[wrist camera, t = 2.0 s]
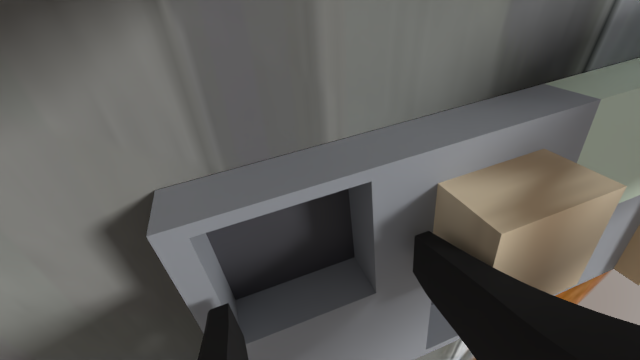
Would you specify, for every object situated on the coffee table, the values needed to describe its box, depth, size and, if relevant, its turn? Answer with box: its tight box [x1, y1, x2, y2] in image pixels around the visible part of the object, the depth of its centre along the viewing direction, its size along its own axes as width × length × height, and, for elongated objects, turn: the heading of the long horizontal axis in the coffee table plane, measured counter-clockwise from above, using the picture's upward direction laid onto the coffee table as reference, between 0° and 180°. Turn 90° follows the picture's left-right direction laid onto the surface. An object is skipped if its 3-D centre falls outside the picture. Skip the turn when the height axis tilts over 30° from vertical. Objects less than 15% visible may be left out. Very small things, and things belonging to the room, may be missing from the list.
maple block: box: [433, 149, 627, 295], centre depth 12 cm, size 5×5×3 cm
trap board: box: [146, 58, 640, 360], centre depth 16 cm, size 26×14×4 cm, turn 97°
